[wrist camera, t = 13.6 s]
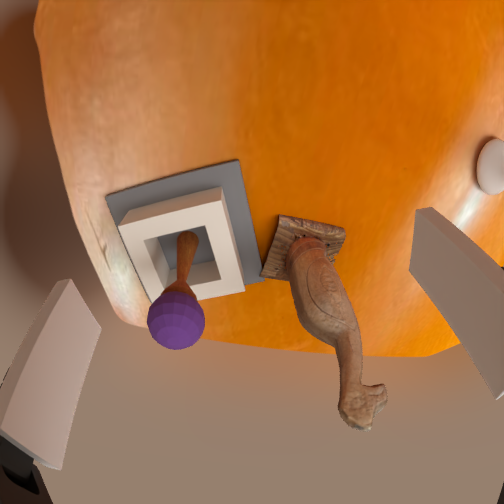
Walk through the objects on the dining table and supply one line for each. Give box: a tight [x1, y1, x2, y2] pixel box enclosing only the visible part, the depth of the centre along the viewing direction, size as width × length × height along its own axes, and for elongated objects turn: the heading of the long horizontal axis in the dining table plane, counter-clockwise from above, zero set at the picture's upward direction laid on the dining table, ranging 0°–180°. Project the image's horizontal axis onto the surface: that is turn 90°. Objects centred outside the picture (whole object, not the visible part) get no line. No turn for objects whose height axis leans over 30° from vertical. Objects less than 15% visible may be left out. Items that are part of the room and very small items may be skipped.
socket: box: [105, 159, 265, 303], centre depth 42 cm, size 20×20×6 cm
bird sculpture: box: [259, 214, 387, 432], centre depth 35 cm, size 11×12×32 cm
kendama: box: [147, 231, 205, 350], centre depth 36 cm, size 6×6×20 cm
